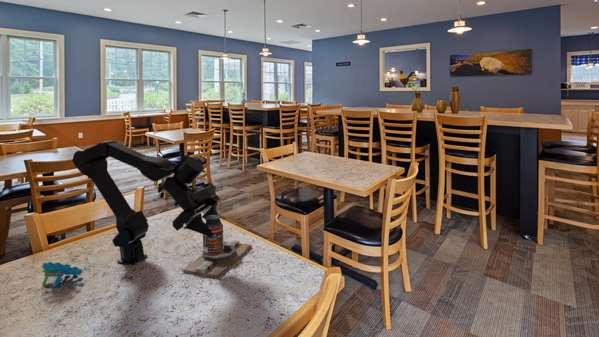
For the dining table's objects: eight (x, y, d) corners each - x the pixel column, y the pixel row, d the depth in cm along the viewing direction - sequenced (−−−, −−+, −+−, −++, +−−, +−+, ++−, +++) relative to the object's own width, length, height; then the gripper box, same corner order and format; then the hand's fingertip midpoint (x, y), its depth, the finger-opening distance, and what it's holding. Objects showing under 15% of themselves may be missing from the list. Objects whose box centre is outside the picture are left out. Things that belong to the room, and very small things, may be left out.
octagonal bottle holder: (182, 272, 101) (182, 263, 101) (221, 242, 122) (221, 235, 121) (217, 278, 97) (217, 269, 97) (251, 247, 118) (251, 239, 117)
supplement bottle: (206, 258, 97) (204, 221, 95) (201, 250, 103) (199, 215, 100) (226, 254, 100) (225, 218, 98) (221, 247, 105) (219, 212, 103)
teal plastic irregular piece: (91, 270, 99) (63, 259, 91) (83, 291, 96) (53, 281, 88) (61, 271, 102) (32, 260, 94) (52, 291, 99) (21, 282, 91)
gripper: (179, 183, 89) (219, 227, 88) (213, 169, 107) (246, 205, 106) (155, 209, 92) (194, 251, 92) (192, 191, 110) (224, 226, 110)
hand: (217, 232), depth 100 cm, fingers closed on supplement bottle, 6 cm apart
